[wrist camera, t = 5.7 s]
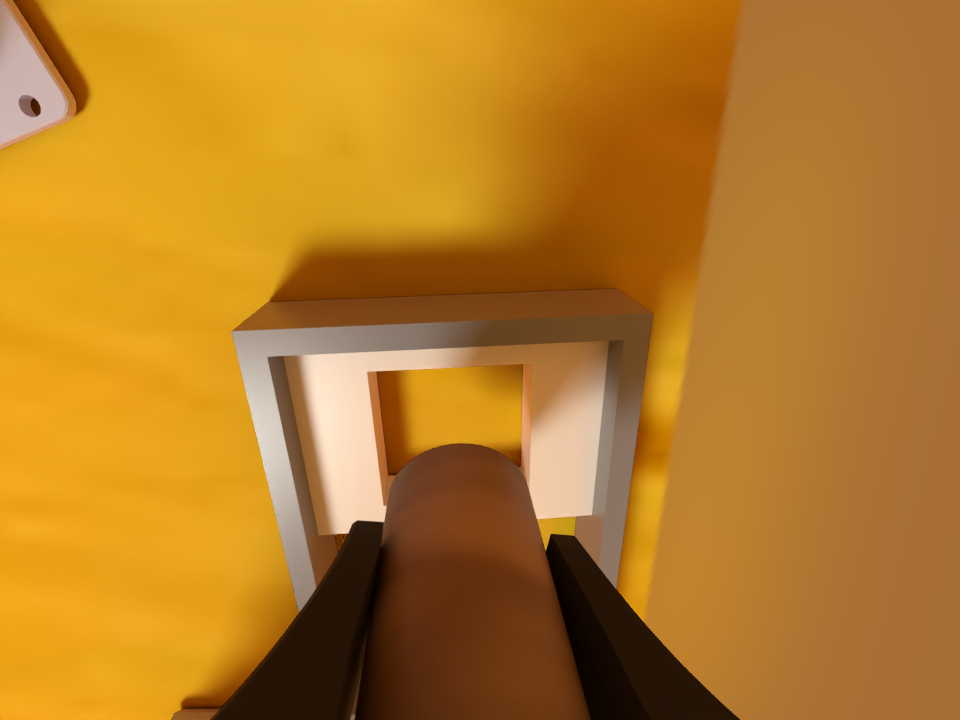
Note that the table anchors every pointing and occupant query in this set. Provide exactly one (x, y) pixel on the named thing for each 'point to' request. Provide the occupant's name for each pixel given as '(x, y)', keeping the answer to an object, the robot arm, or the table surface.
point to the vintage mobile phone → (195, 714)
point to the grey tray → (443, 344)
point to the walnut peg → (465, 600)
